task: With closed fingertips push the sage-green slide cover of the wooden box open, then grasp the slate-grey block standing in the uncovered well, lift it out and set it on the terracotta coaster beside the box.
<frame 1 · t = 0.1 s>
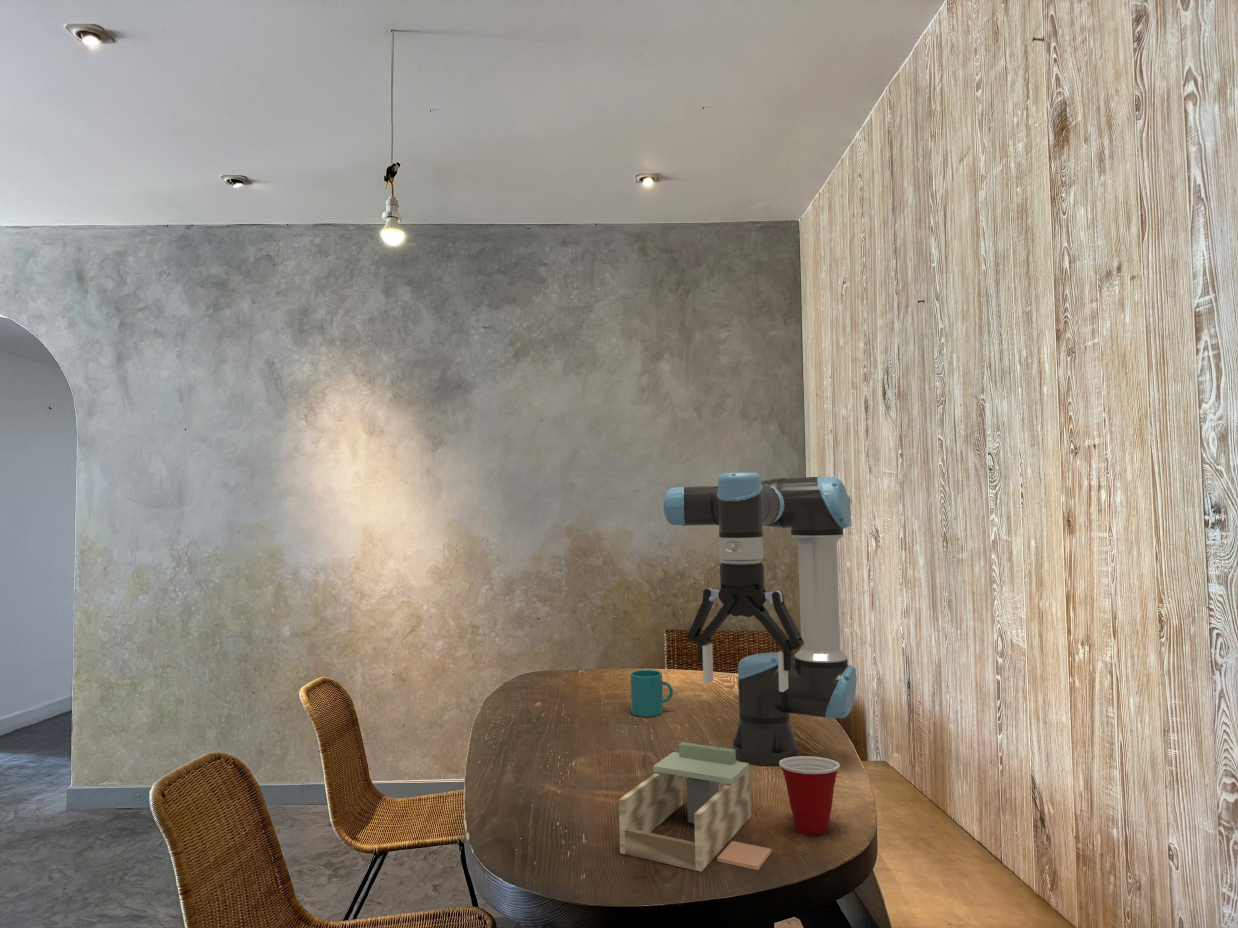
hand: (745, 686, 132), 28 cm above the table, fingers open, 13 cm apart
cup: (652, 713, 217), on the table
slate block: (703, 819, 144), on the table
wooden box: (688, 833, 138), on the table
plastic cup: (811, 829, 139), on the table
terracotta coaster: (744, 856, 129), on the table
cover: (701, 760, 144), point 11 cm above the table, slide at 0.0 cm
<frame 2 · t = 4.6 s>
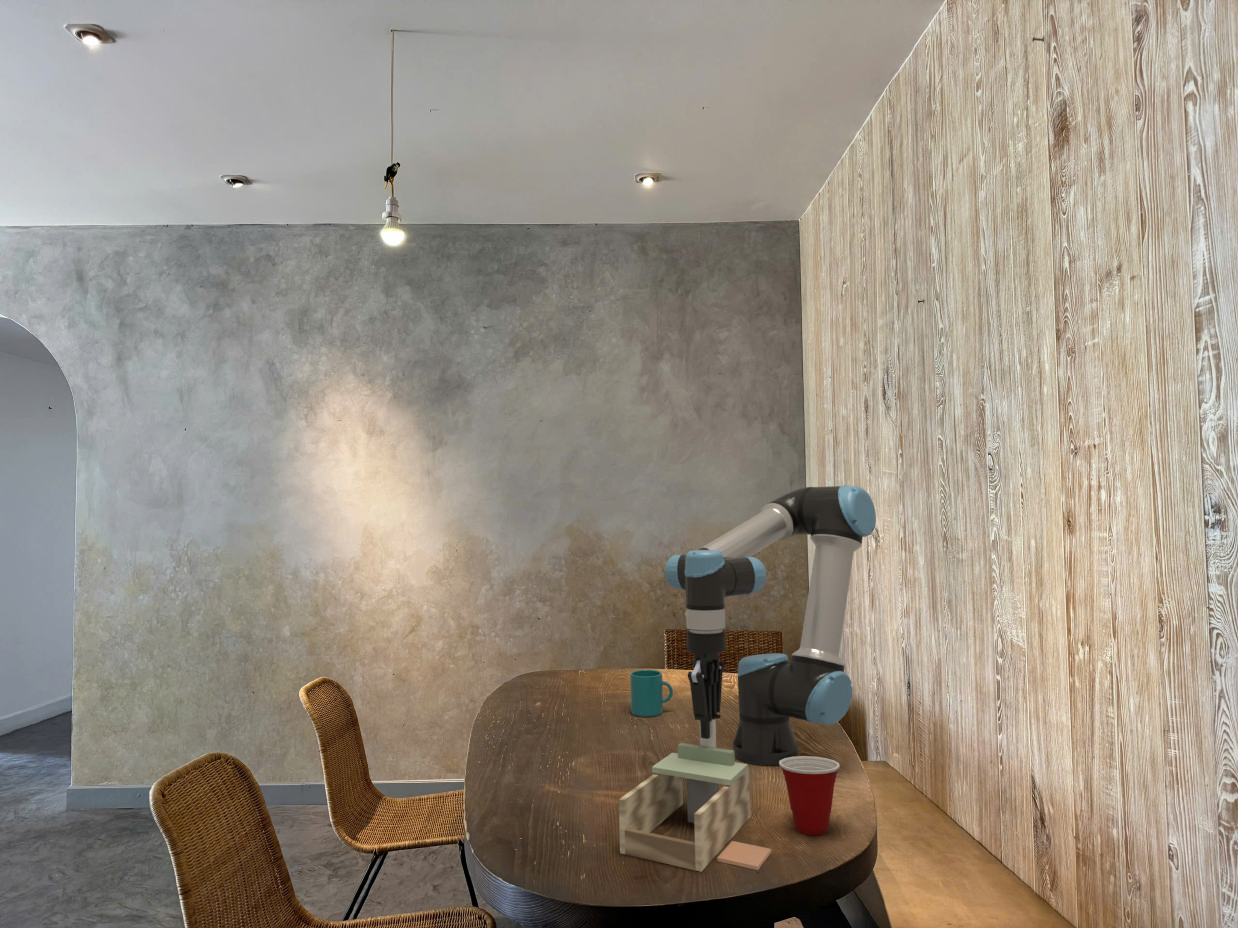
hand: (708, 753, 148), 11 cm above the table, fingers closed
cover: (699, 761, 144), point 11 cm above the table, slide at 0.6 cm, touching gripper
everything else where it was.
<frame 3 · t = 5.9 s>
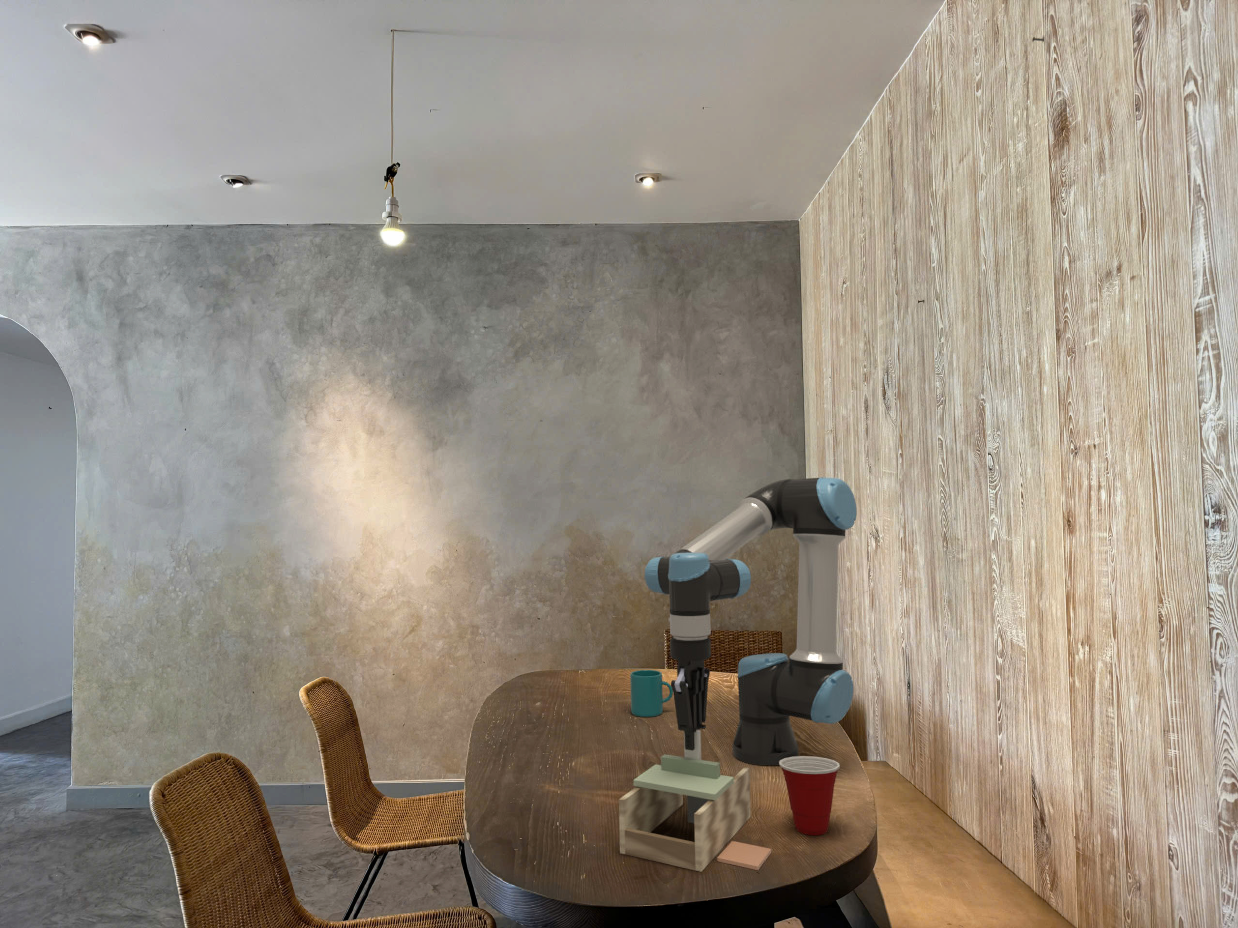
hand: (693, 765, 141), 11 cm above the table, fingers closed
cover: (683, 774, 137), point 11 cm above the table, slide at 8.1 cm, touching gripper
everything else where it was.
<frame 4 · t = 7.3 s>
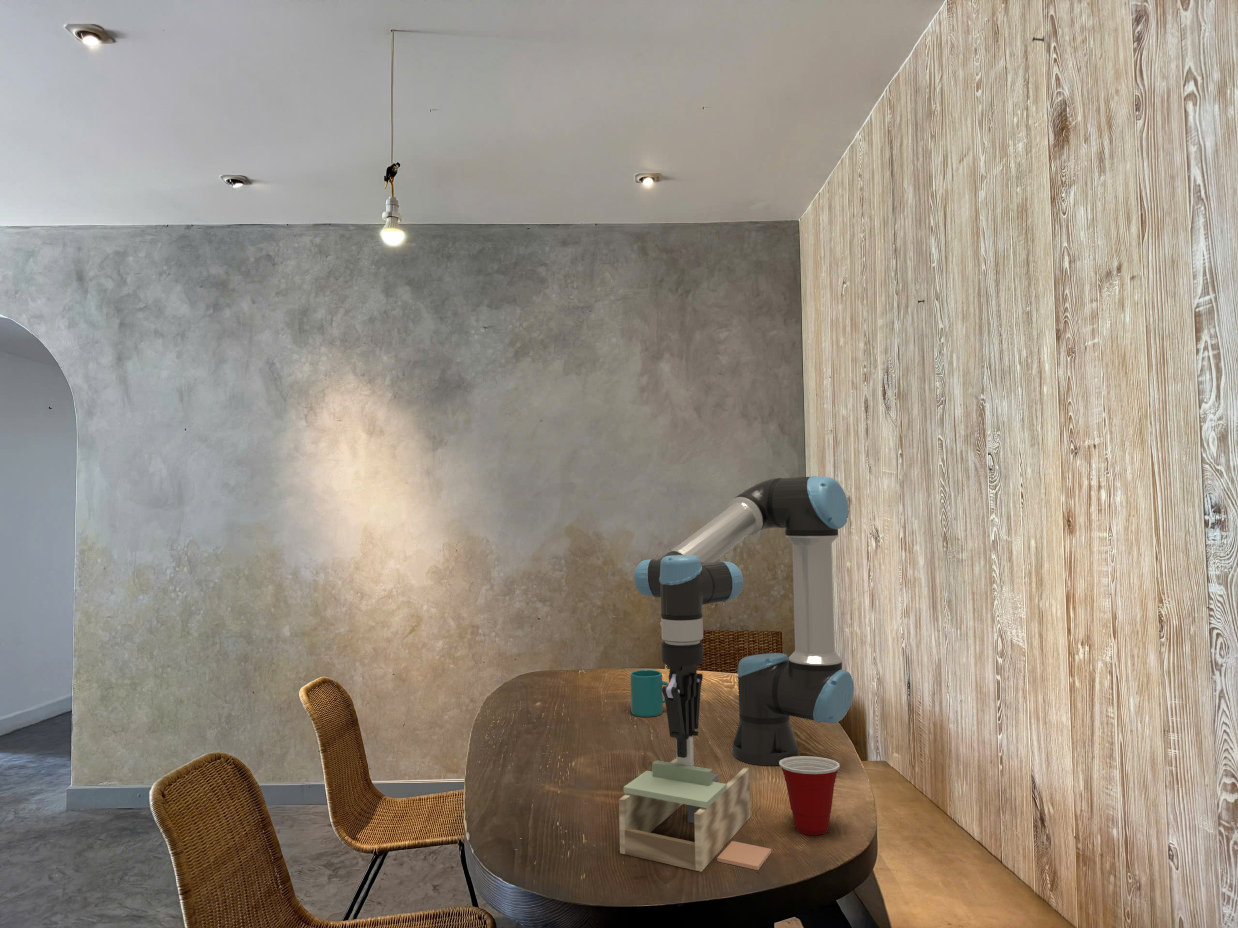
hand: (685, 773, 138), 11 cm above the table, fingers closed
cover: (674, 781, 134), point 11 cm above the table, slide at 11.7 cm, touching gripper
everything else where it was.
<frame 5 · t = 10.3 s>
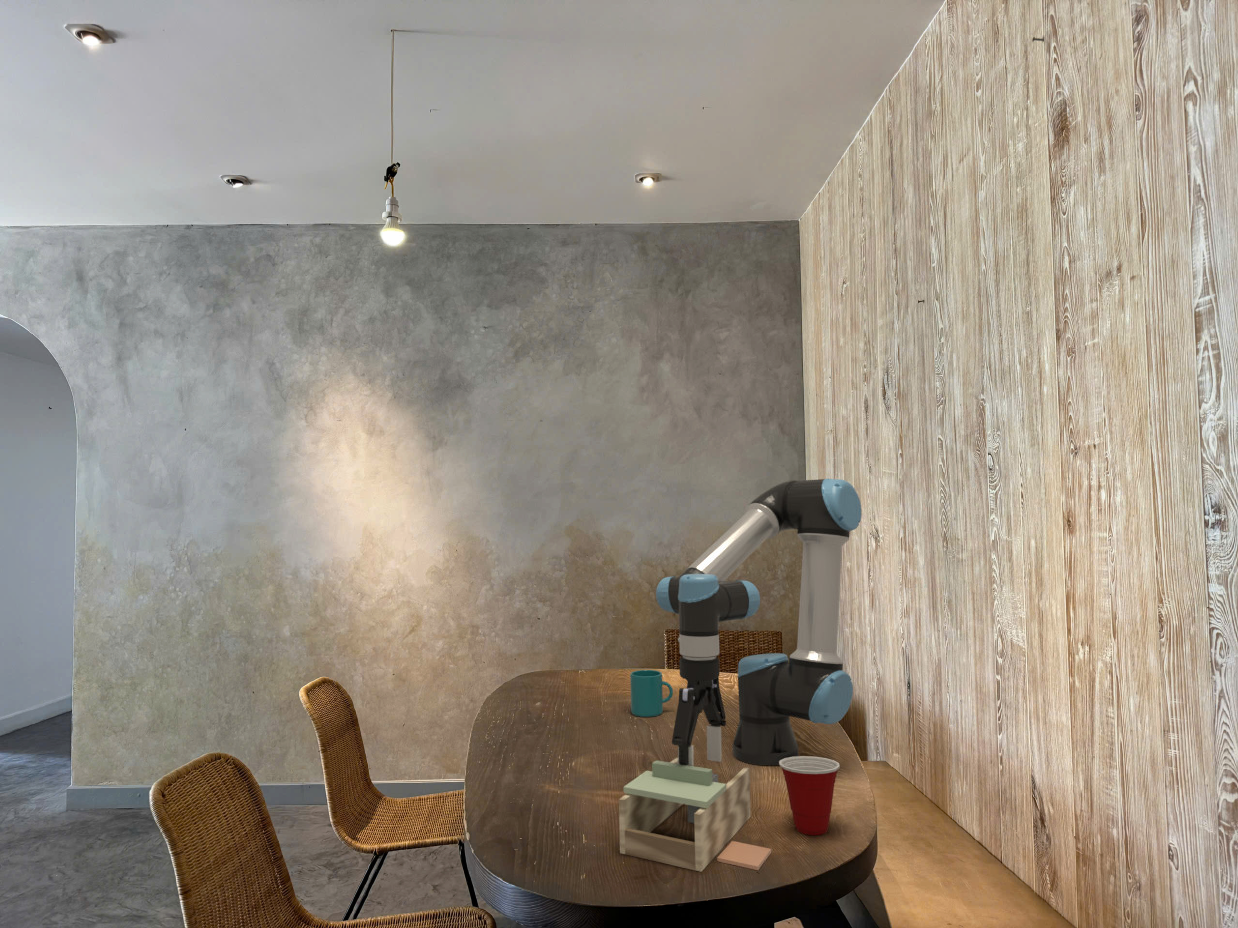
hand: (700, 770, 144), 9 cm above the table, fingers open, 13 cm apart
nothing on the table moved.
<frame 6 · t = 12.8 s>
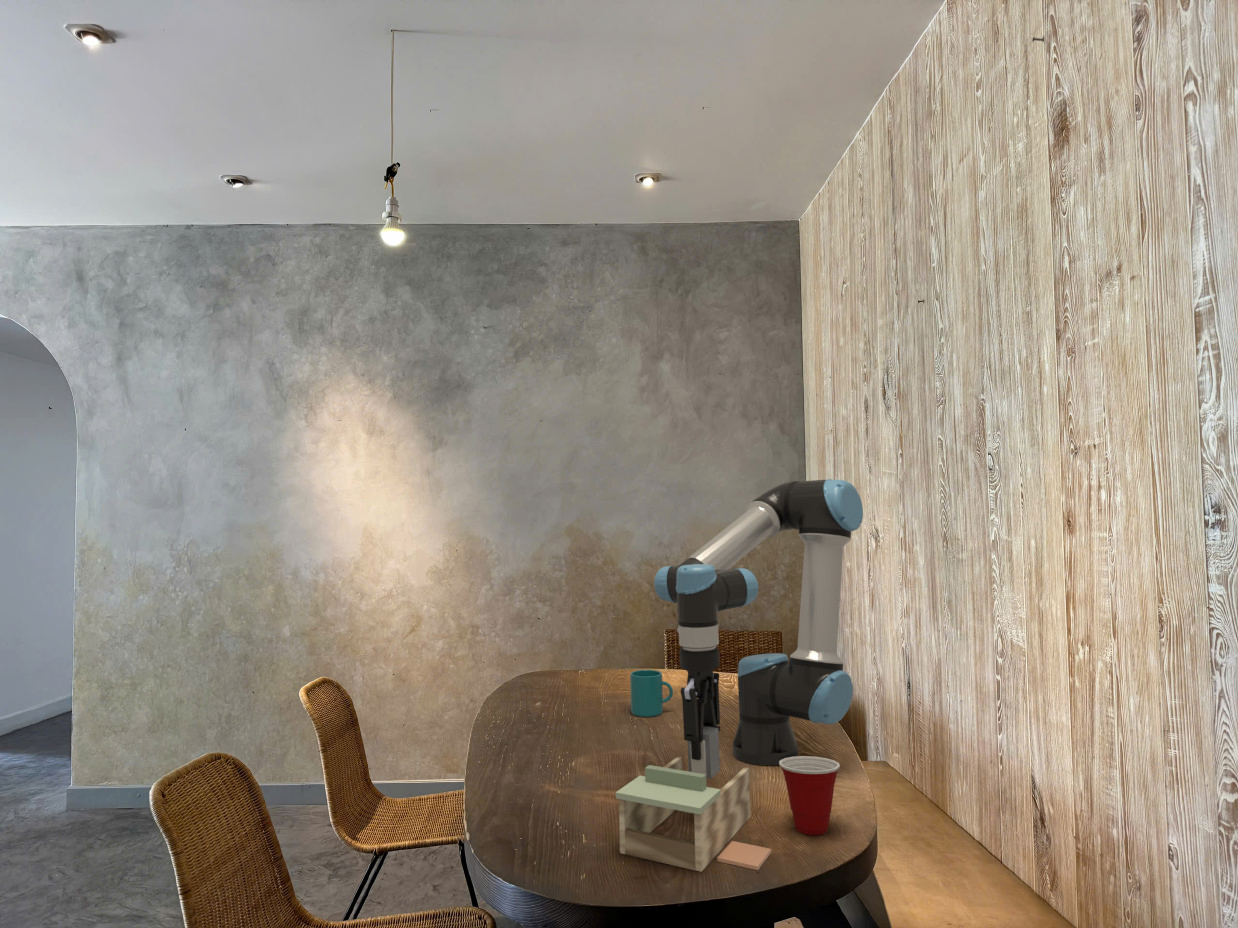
hand: (704, 770, 145), 9 cm above the table, fingers closed on slate block, 4 cm apart
slate block: (704, 772, 145), point 8 cm above the table, touching gripper
cover: (668, 786, 132), point 11 cm above the table, slide at 14.5 cm
everything else where it was.
when the fingers open (1 cm above the table, at t = 17.9 s): slate block stays where it is, resting on terracotta coaster.
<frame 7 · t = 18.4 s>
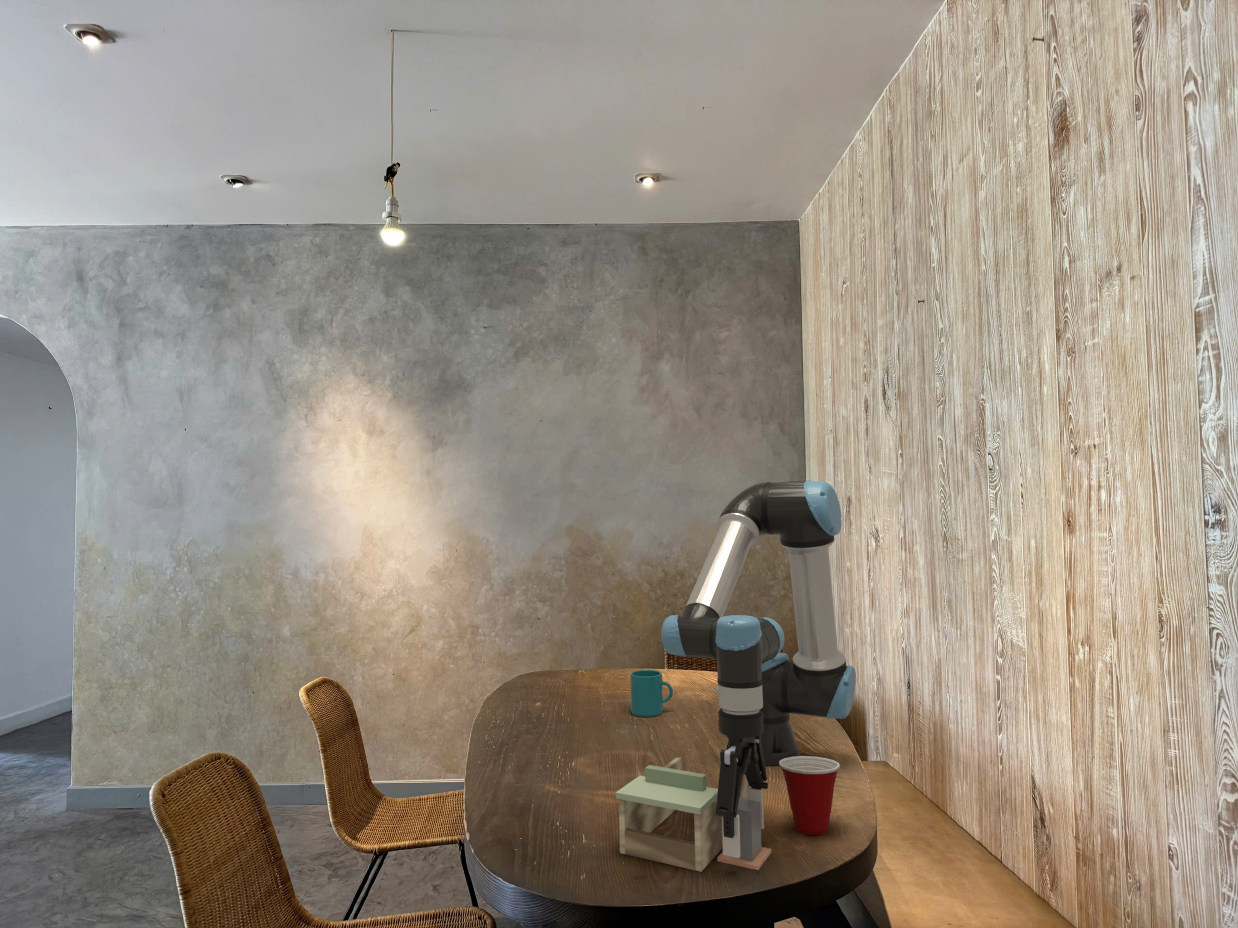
hand: (744, 840, 129), 3 cm above the table, fingers open, 11 cm apart
slate block: (744, 852, 129), point 1 cm above the table, touching terracotta coaster
everything else where it was.
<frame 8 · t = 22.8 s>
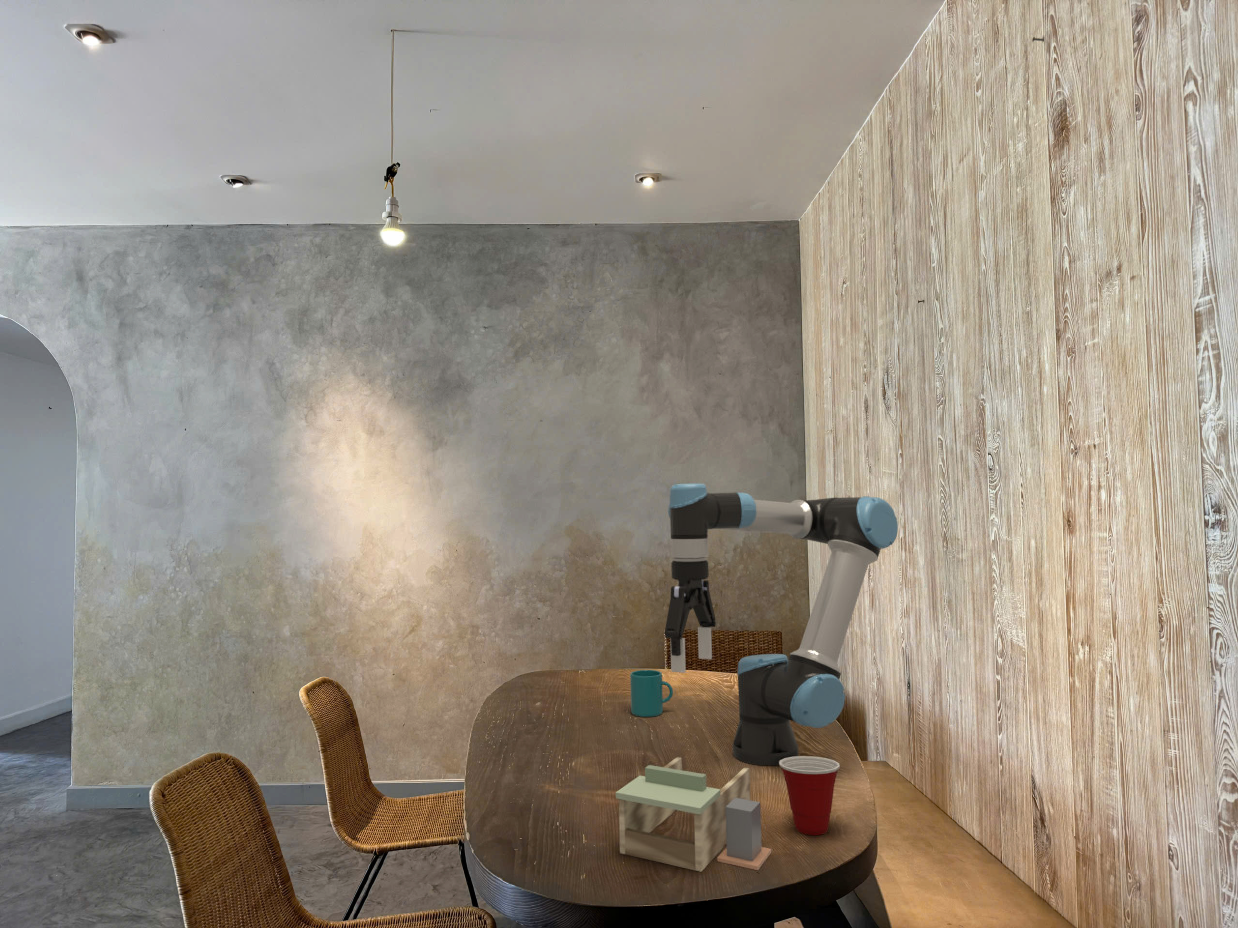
hand: (692, 665, 155), 27 cm above the table, fingers open, 13 cm apart
nothing on the table moved.
at the end: cover slide at 14.5 cm; slate block inside the target area on the terracotta coaster (0.1 cm from its centre), point 0.6 cm above the terracotta coaster's base; slate block tilted 0° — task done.
